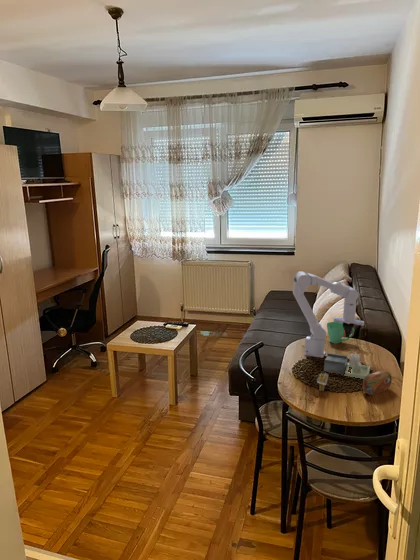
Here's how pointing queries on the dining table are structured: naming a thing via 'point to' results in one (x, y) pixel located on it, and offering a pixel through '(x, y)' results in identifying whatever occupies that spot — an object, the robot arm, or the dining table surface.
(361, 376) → the tray
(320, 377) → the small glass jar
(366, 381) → the tin
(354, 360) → the chip
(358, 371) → the chip
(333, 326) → the mug
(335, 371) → the slot block
